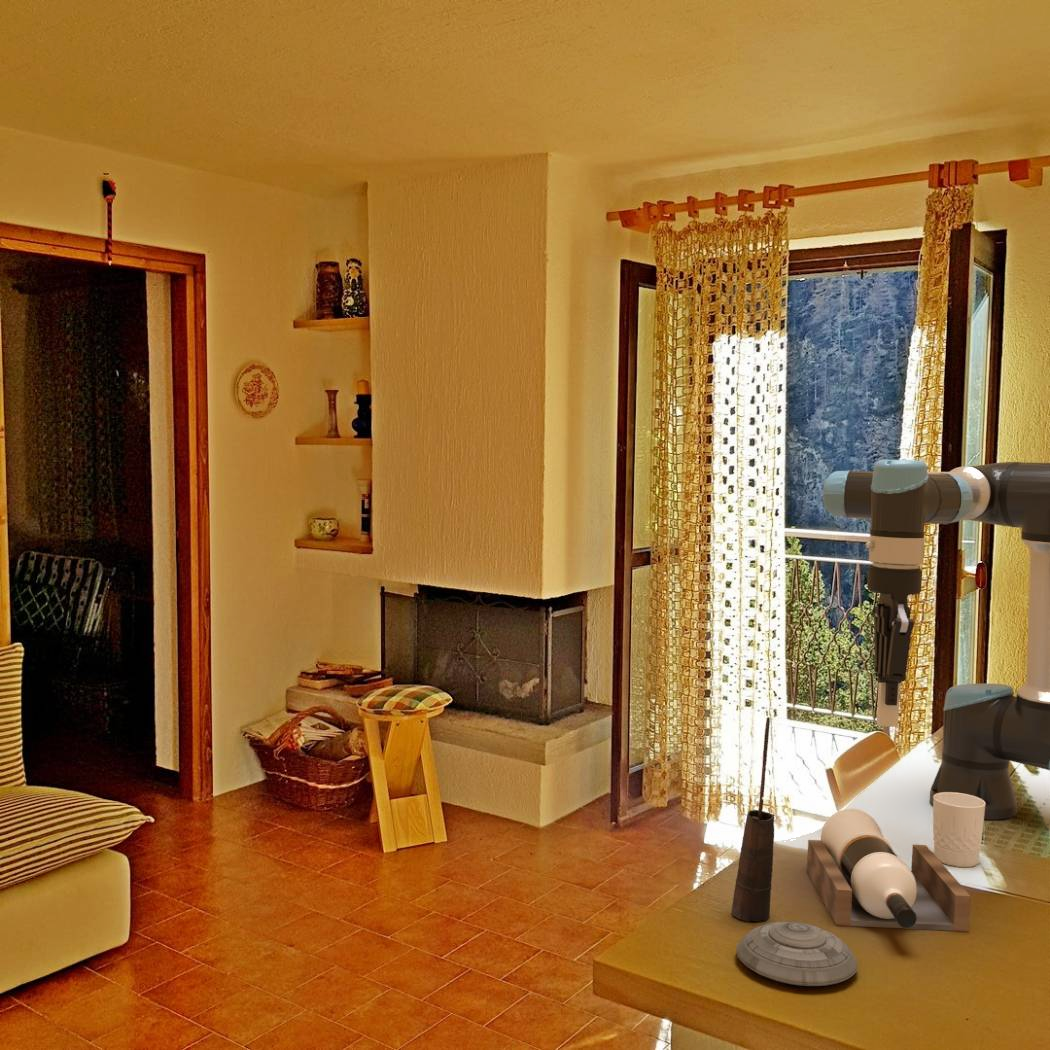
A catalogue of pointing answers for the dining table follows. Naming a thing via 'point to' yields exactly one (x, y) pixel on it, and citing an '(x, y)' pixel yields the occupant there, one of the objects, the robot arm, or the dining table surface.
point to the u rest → (934, 905)
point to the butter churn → (756, 859)
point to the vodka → (870, 866)
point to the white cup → (957, 828)
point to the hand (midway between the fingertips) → (887, 725)
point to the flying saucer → (797, 954)
